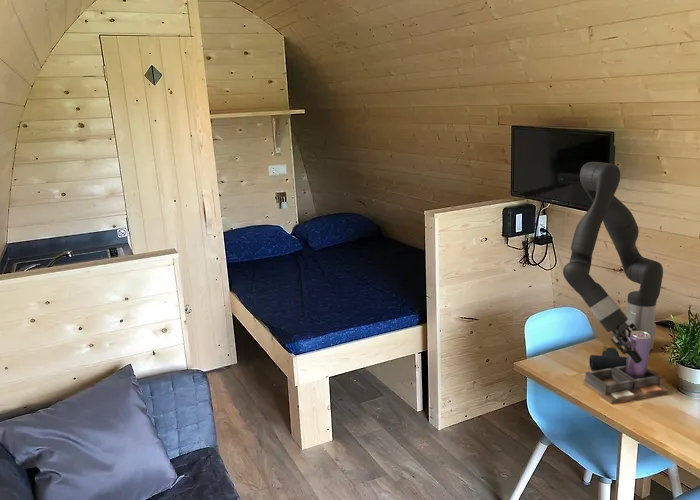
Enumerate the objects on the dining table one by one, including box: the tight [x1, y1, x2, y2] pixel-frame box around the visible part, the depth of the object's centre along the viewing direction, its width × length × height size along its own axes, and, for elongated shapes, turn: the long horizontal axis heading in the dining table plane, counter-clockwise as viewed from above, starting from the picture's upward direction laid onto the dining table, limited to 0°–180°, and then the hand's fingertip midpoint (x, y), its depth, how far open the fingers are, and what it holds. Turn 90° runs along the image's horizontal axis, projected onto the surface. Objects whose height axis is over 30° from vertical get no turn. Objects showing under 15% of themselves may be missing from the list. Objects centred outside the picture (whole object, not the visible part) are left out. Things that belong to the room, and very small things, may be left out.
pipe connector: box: [588, 346, 627, 371], centre depth 197 cm, size 12×5×15 cm
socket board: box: [583, 366, 669, 405], centre depth 182 cm, size 20×13×4 cm, turn 105°
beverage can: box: [625, 331, 651, 379], centre depth 183 cm, size 6×6×15 cm
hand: (643, 358), depth 182 cm, fingers closed on beverage can, 6 cm apart
